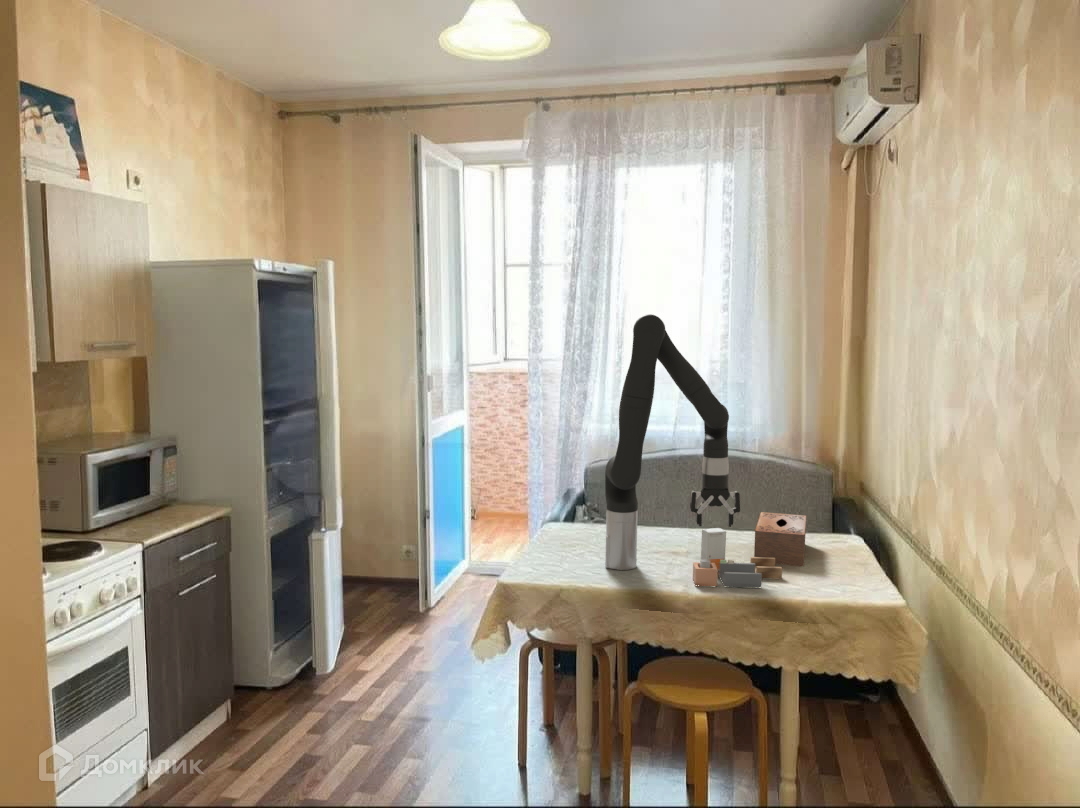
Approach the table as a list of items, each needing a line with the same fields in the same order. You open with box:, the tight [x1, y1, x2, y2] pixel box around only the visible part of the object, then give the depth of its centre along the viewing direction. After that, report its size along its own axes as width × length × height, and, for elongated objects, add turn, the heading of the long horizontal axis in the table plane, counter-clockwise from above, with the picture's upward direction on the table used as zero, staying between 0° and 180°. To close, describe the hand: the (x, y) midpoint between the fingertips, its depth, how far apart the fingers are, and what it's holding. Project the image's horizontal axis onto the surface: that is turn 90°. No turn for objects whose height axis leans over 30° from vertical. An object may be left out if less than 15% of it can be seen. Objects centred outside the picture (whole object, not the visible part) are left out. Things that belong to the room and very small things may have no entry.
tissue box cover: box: [753, 511, 807, 568], centre depth 262 cm, size 26×14×10 cm, turn 161°
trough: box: [749, 556, 783, 580], centre depth 241 cm, size 7×10×3 cm
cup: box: [692, 559, 719, 587], centre depth 232 cm, size 6×6×6 cm
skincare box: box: [700, 527, 727, 572], centre depth 244 cm, size 6×4×12 cm
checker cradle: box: [718, 559, 763, 588], centre depth 233 cm, size 10×10×5 cm
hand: (714, 526), depth 243 cm, fingers open, 8 cm apart
